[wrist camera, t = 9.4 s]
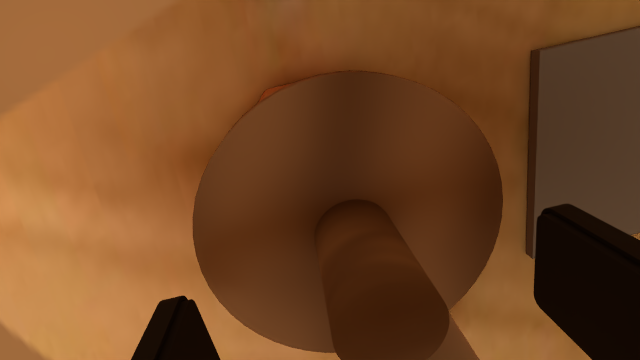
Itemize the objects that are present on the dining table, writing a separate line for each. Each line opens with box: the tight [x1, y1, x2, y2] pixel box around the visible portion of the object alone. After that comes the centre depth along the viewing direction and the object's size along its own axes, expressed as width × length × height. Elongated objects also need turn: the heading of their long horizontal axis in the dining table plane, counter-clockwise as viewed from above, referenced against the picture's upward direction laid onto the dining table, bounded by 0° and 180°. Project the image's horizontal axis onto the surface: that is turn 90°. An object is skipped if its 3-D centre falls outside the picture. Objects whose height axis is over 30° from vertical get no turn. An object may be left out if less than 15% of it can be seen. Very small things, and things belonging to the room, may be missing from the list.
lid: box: [193, 71, 503, 360], centre depth 10 cm, size 11×11×6 cm
